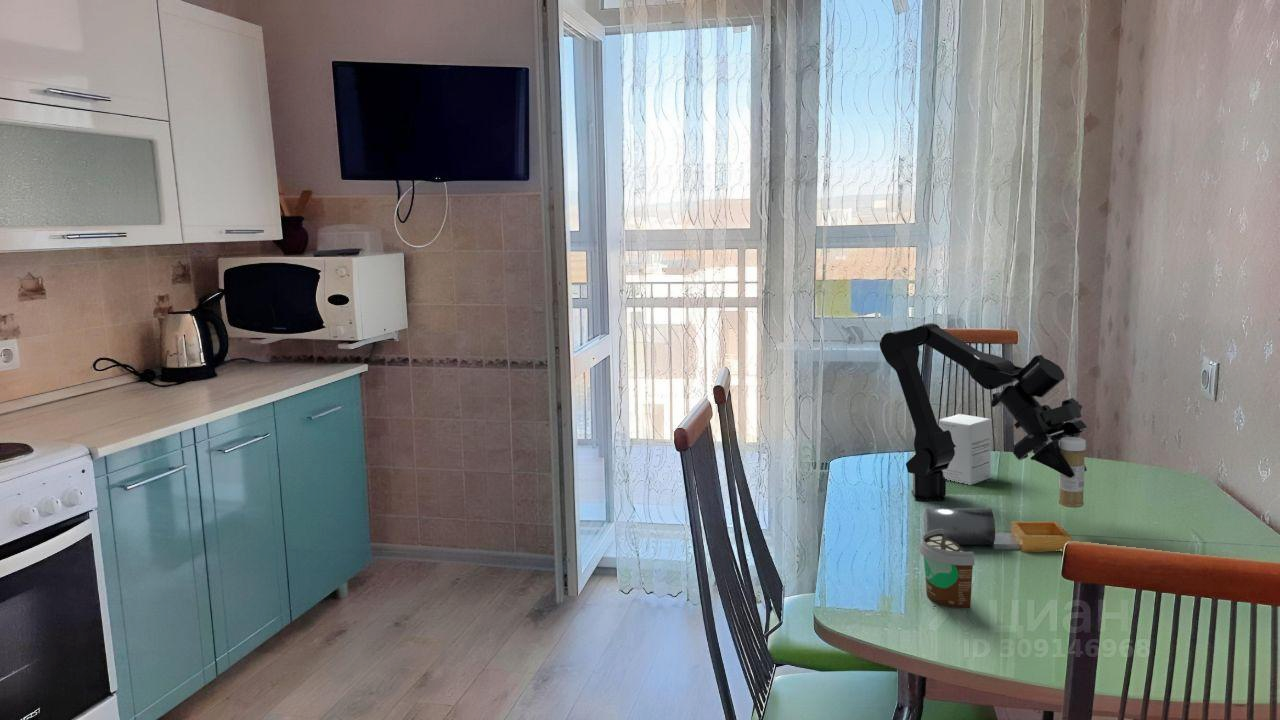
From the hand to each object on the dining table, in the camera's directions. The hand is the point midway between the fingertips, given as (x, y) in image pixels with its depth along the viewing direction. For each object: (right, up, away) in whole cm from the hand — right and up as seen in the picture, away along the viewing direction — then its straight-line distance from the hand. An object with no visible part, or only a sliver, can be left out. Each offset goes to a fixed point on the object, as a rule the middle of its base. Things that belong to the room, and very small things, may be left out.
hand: (1078, 474), depth 170 cm
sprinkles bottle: (0, -7, +2) cm, 7 cm away
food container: (-35, -18, -24) cm, 46 cm away
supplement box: (-6, -7, +43) cm, 44 cm away
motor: (-16, -13, -1) cm, 21 cm away
